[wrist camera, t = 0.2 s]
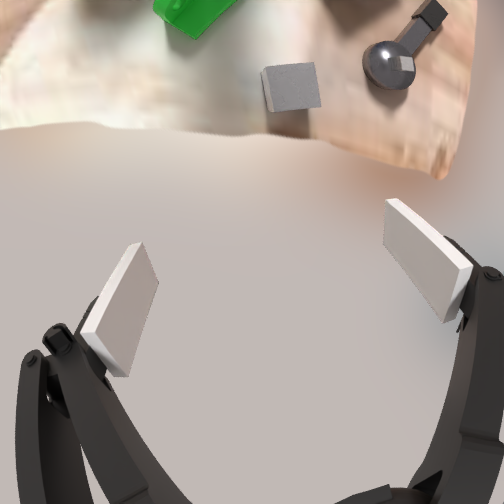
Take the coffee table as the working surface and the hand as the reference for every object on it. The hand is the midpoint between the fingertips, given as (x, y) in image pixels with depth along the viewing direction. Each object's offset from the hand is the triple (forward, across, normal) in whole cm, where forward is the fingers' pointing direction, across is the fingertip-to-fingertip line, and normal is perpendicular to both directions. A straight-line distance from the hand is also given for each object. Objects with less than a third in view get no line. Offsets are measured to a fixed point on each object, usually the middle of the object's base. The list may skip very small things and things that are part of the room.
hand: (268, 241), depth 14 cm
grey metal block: (+27, +6, +8) cm, 29 cm away
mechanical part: (+28, -2, +24) cm, 36 cm away
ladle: (+27, +22, +11) cm, 37 cm away
